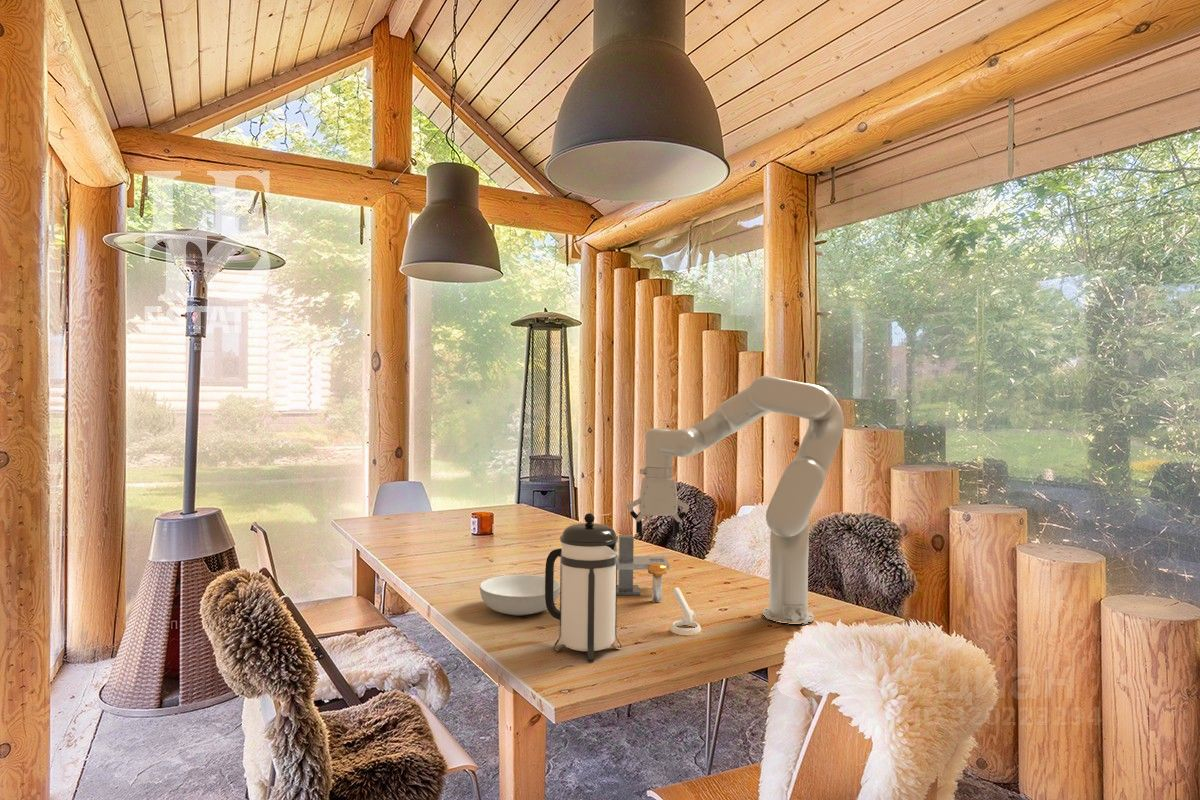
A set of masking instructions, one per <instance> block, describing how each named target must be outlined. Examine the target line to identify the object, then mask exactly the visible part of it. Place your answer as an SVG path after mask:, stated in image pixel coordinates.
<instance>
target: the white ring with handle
mask: <svg viewBox="0 0 1200 800" xmlns="http://www.w3.org/2000/svg"><path fill="white" fill-rule="evenodd" d="M672 595H673V596H674V598H675V600H676V602H677V604H678V606H679V608H680V609H681V611H682V617H681V619H680V620H676V621H674V622H673V623H672V624H671V626H670V628H669V631H670V630H671V631H673V632H675V633H681V634H693V633H698V632H700V631H701V630H702V627H701V625H700V624H699V622H696V621H694V619H695V618H696V613H694V611H695V610H694V609H693V610H692V609H691V608H690V606H689V604H688V603H687V600H686V599H685V596H684V595H683V593H682V591H681V589H680V587H677V586H676V587H675V588H673V589H672ZM678 625H692V626H696V627H695V628H694V627H688V628H687V627H686V628H685V627H681V626H679V627H677V626H678Z"/></svg>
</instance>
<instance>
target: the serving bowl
mask: <svg viewBox="0 0 1200 800" xmlns="http://www.w3.org/2000/svg"><path fill="white" fill-rule="evenodd" d="M479 591H480V595H481V599H482V601H483V602H484V604H485V605H486V606H487V607H488V608H489V609H491V610H493V611H495V612H498V613H501V614H504V615H511V616H528V615H533V614H536V613H537V614H538V613H540V612H541V613H542V612H543V611H546V610H548V609H547V606H546V602H545V575H537V574H525V573H524V574H522V573H521V574H520V573H519V574H505V575H500V576H494V577H490V578H487V579H485V580H483V581H482V582H481V583H480V584H479ZM559 595H560V581H557V580H556V579H554V582H553V600H554V603H555V602H556V601H557V599H558V597H559Z"/></svg>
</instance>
